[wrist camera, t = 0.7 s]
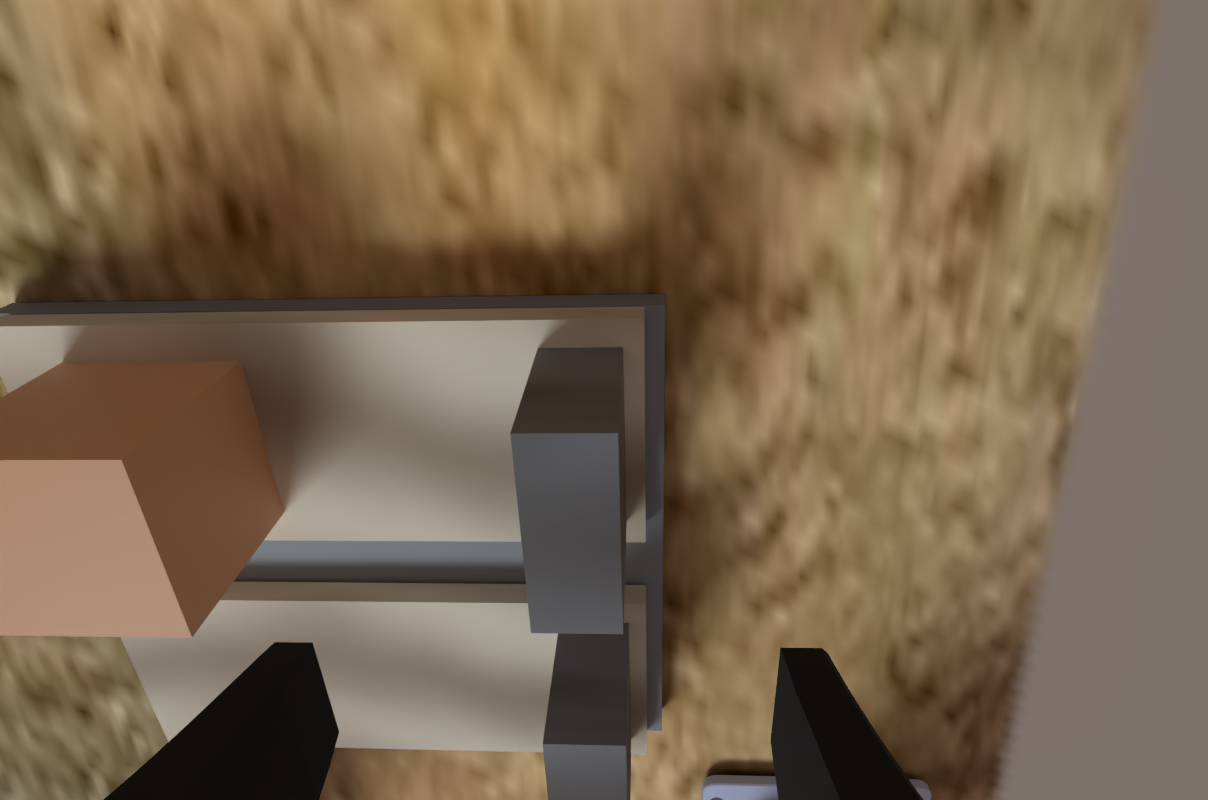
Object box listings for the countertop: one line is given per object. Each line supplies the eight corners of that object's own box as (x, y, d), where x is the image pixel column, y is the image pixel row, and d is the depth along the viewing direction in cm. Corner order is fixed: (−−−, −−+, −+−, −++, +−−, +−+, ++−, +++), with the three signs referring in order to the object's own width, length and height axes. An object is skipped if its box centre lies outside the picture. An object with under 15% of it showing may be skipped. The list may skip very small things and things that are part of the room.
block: (284, 512, 20) (192, 637, 16) (123, 511, 20) (-8, 635, 16) (240, 360, 17) (121, 460, 13) (62, 362, 18) (-107, 460, 14)
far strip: (646, 732, 24) (647, 884, 20) (183, 723, 25) (88, 867, 21) (646, 584, 21) (646, 726, 17) (120, 580, 22) (-5, 713, 18)
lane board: (661, 710, 25) (661, 730, 24) (183, 701, 26) (170, 720, 25) (664, 293, 18) (665, 304, 17) (12, 302, 19) (-12, 313, 18)
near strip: (645, 524, 20) (646, 658, 16) (94, 522, 21) (-45, 648, 17) (644, 306, 17) (645, 399, 13) (4, 314, 18) (-193, 404, 14)
